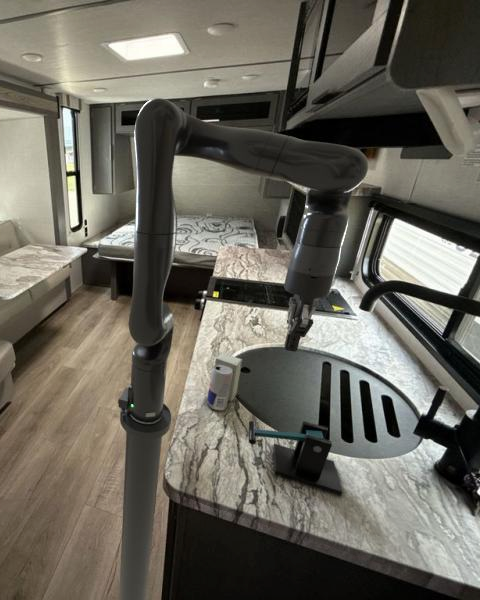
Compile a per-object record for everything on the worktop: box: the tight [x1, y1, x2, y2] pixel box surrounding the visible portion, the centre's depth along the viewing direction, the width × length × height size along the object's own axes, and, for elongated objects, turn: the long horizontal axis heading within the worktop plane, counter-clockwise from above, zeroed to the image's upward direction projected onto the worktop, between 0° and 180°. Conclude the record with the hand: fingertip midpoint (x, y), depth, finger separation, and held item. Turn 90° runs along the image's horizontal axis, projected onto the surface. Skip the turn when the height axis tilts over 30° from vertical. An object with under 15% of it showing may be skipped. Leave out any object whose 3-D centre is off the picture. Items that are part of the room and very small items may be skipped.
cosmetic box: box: [214, 352, 243, 402], centre depth 89 cm, size 6×4×12 cm
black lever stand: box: [272, 420, 343, 497], centre depth 66 cm, size 12×8×11 cm, turn 67°
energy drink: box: [206, 363, 233, 411], centre depth 85 cm, size 5×5×12 cm
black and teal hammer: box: [248, 420, 324, 445], centre depth 67 cm, size 14×6×2 cm, turn 67°
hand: (290, 349), depth 63 cm, fingers closed
